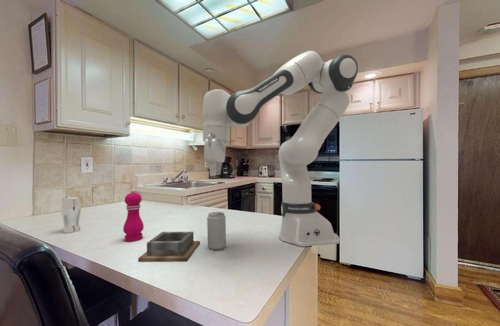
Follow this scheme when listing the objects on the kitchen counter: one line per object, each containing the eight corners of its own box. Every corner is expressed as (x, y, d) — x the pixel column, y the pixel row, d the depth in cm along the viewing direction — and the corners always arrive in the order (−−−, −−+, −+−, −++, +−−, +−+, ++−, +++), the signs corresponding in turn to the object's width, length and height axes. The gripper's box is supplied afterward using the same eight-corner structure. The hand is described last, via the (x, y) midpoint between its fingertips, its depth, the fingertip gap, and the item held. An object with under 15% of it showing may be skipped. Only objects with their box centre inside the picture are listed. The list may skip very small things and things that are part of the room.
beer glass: (57, 232, 98) (57, 199, 98) (75, 228, 104) (74, 196, 105) (67, 234, 95) (67, 199, 95) (84, 229, 102) (84, 197, 102)
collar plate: (199, 243, 82) (199, 230, 82) (187, 261, 67) (186, 244, 67) (159, 243, 82) (159, 230, 82) (138, 261, 67) (138, 245, 67)
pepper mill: (147, 237, 90) (147, 188, 90) (131, 243, 83) (131, 190, 83) (135, 235, 93) (135, 187, 93) (119, 240, 86) (118, 189, 86)
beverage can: (222, 251, 74) (222, 215, 74) (204, 250, 75) (204, 214, 75) (228, 244, 80) (227, 211, 80) (211, 243, 82) (211, 211, 82)
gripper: (219, 131, 68) (219, 176, 68) (228, 139, 88) (228, 173, 88) (199, 132, 68) (199, 176, 68) (212, 139, 88) (212, 174, 88)
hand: (215, 175), depth 78 cm, fingers open, 8 cm apart
